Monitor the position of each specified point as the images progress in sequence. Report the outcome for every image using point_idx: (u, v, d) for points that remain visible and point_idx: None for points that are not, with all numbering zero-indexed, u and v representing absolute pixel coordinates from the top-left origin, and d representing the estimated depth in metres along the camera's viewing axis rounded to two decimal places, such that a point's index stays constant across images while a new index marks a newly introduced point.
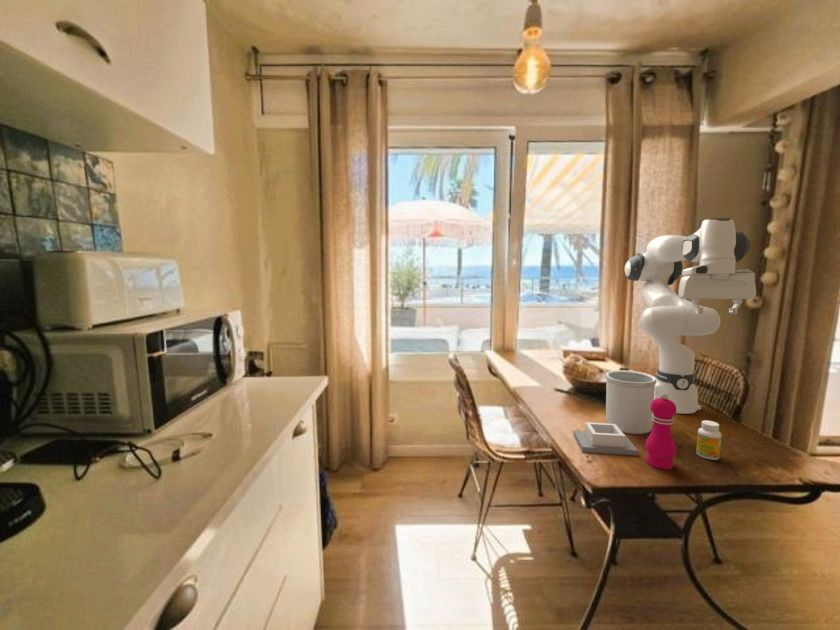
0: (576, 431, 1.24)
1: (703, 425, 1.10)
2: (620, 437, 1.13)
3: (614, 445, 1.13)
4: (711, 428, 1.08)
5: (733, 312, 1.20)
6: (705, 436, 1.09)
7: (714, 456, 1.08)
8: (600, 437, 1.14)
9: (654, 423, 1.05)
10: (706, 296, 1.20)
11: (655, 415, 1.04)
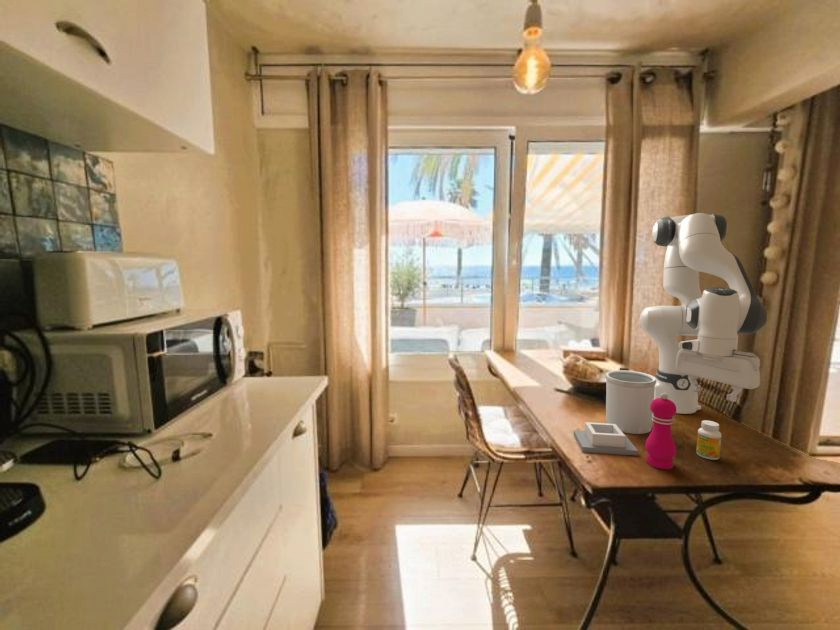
0: (576, 431, 1.24)
1: (703, 425, 1.10)
2: (620, 437, 1.13)
3: (614, 445, 1.13)
4: (711, 428, 1.08)
5: (728, 399, 1.04)
6: (705, 436, 1.09)
7: (714, 456, 1.08)
8: (600, 437, 1.14)
9: (654, 423, 1.05)
10: (696, 374, 1.11)
11: (655, 415, 1.04)
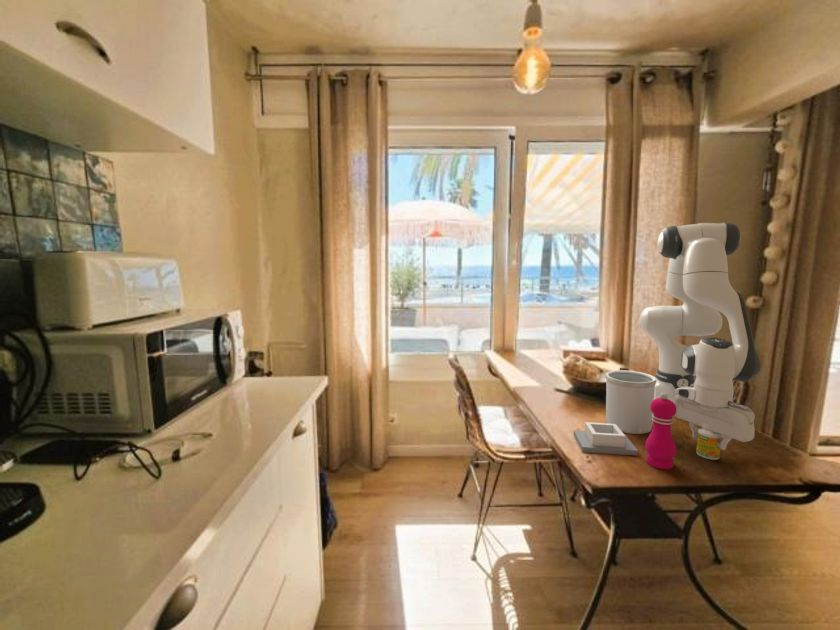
0: (576, 431, 1.24)
1: (703, 425, 1.10)
2: (620, 437, 1.13)
3: (614, 445, 1.13)
4: None
5: (718, 447, 1.07)
6: (705, 436, 1.09)
7: (714, 456, 1.08)
8: (600, 437, 1.14)
9: (654, 423, 1.05)
10: (692, 421, 1.12)
11: (655, 415, 1.04)
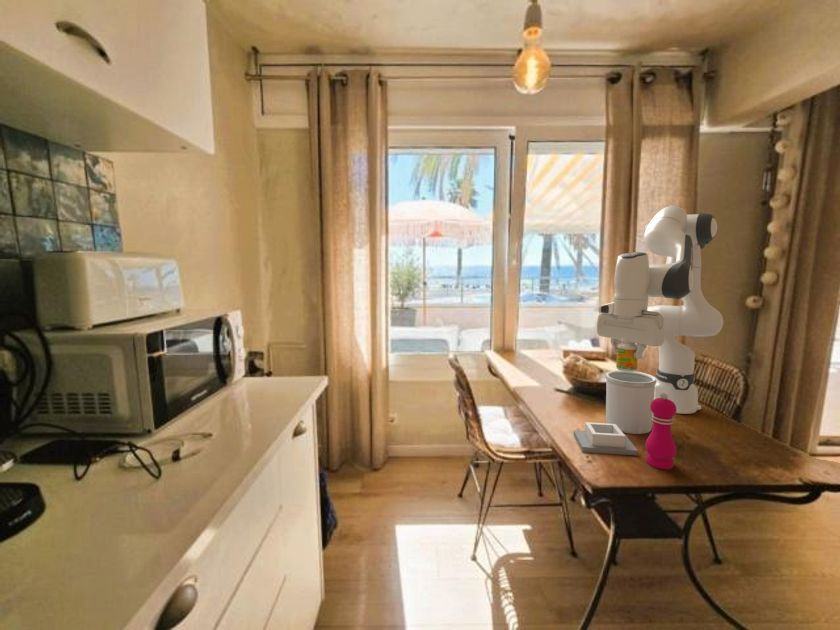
0: (576, 431, 1.24)
1: (621, 339, 1.13)
2: (620, 437, 1.13)
3: (614, 445, 1.13)
4: None
5: (634, 357, 1.10)
6: (622, 349, 1.12)
7: (631, 368, 1.11)
8: (600, 437, 1.14)
9: (654, 423, 1.05)
10: (613, 336, 1.15)
11: (655, 415, 1.04)
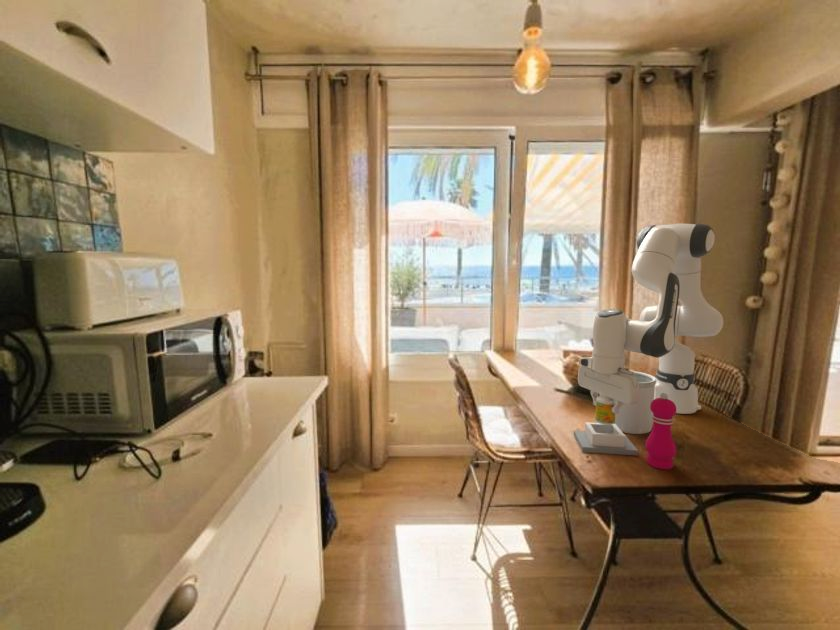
0: (576, 431, 1.24)
1: (599, 393, 1.16)
2: (620, 437, 1.13)
3: (614, 445, 1.13)
4: None
5: (611, 411, 1.14)
6: (600, 403, 1.15)
7: (608, 421, 1.15)
8: (600, 437, 1.14)
9: (654, 423, 1.05)
10: (592, 389, 1.19)
11: (655, 415, 1.04)
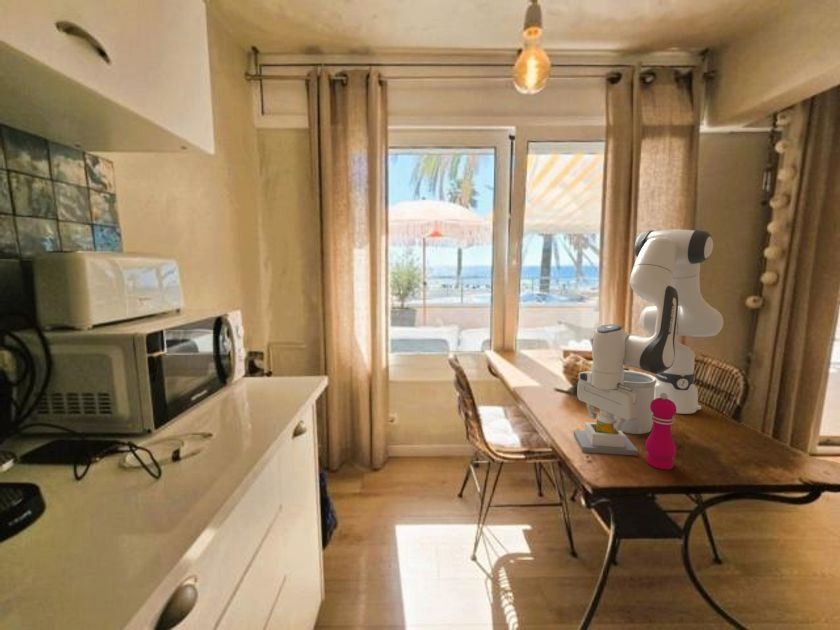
0: (576, 431, 1.24)
1: (600, 411, 1.16)
2: (620, 437, 1.13)
3: (614, 445, 1.13)
4: (606, 414, 1.15)
5: (614, 428, 1.13)
6: (601, 422, 1.15)
7: None
8: (600, 437, 1.14)
9: (654, 423, 1.05)
10: (591, 403, 1.20)
11: (655, 415, 1.04)
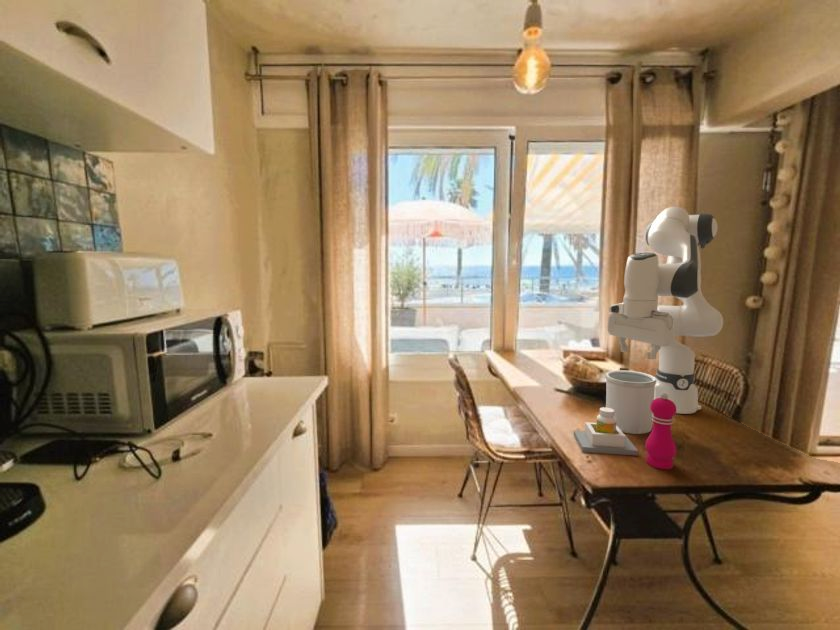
0: (576, 431, 1.24)
1: (600, 411, 1.16)
2: (620, 437, 1.13)
3: (614, 445, 1.13)
4: (606, 414, 1.15)
5: (648, 357, 1.11)
6: (601, 422, 1.15)
7: None
8: (600, 437, 1.14)
9: (654, 423, 1.05)
10: (623, 335, 1.18)
11: (655, 415, 1.04)
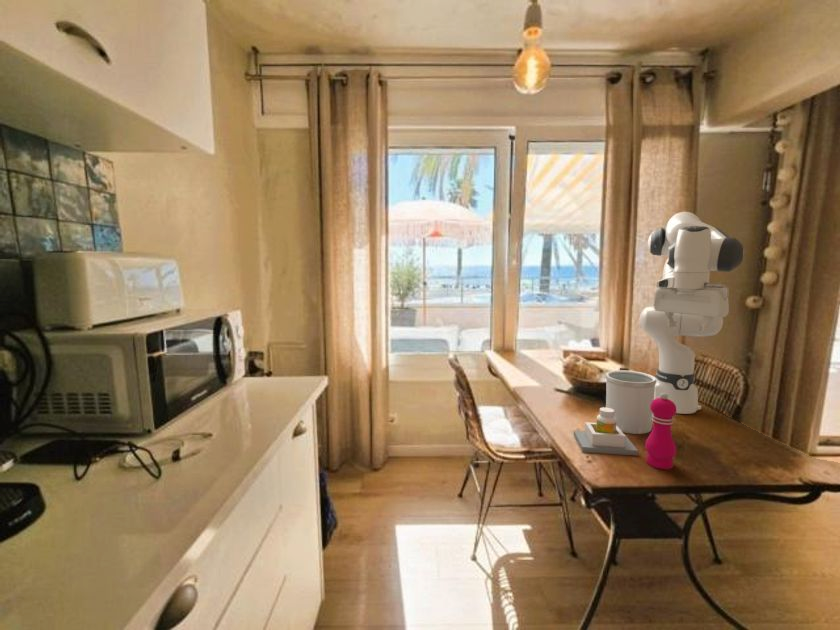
0: (576, 431, 1.24)
1: (600, 411, 1.16)
2: (620, 437, 1.13)
3: (614, 445, 1.13)
4: (606, 414, 1.15)
5: (700, 330, 1.11)
6: (601, 422, 1.15)
7: None
8: (600, 437, 1.14)
9: (654, 423, 1.05)
10: (672, 310, 1.17)
11: (655, 415, 1.04)
